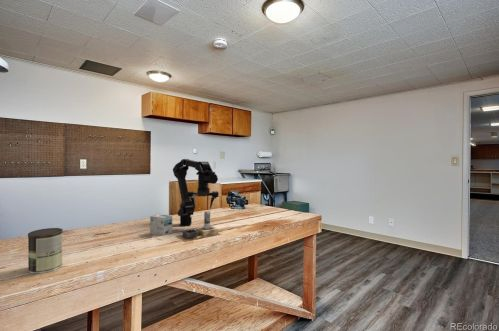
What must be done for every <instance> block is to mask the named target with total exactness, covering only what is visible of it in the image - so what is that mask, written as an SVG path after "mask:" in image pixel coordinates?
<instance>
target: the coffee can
mask: <svg viewBox="0 0 499 331" xmlns="http://www.w3.org/2000/svg"><path fill="white" fill-rule="evenodd" d="M63 230H64V229H63V228H60V227H49V228H48V227H47V228H41V229H37V230H36V229H35V230H32V231H30V232H28V233H27V236H28V237H27V239H28V240H27V244H28V246H27V247H28V249H27V252H28V253H27V254H28V256H27V258H28V262H27V266H28V267H27V268H28V269H27V272H28V274H32V275H39V274H40V275H41V274H47V273H50V272H54V271H56V270H59V269H60V268H61V267H62V266H63V232H64V231H63Z"/></svg>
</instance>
